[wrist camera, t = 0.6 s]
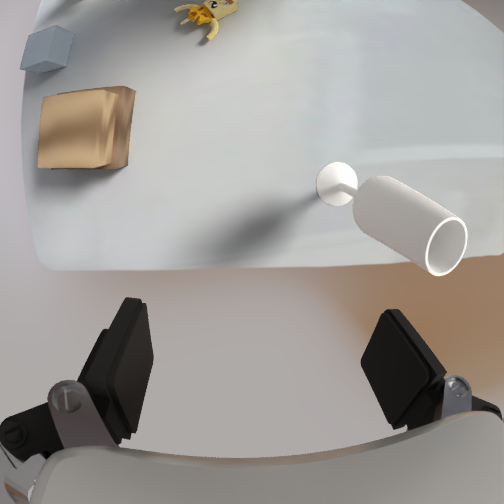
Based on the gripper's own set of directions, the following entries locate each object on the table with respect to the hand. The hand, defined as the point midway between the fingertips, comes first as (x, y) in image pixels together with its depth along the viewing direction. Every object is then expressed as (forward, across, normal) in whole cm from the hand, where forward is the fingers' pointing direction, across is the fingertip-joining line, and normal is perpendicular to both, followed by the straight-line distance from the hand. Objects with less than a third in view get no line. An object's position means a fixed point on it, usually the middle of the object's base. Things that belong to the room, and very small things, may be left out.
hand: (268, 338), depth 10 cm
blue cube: (+30, +32, -22) cm, 50 cm away
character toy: (+31, +9, -26) cm, 41 cm away
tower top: (+25, +21, -8) cm, 34 cm away
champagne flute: (+30, -14, -2) cm, 33 cm away
